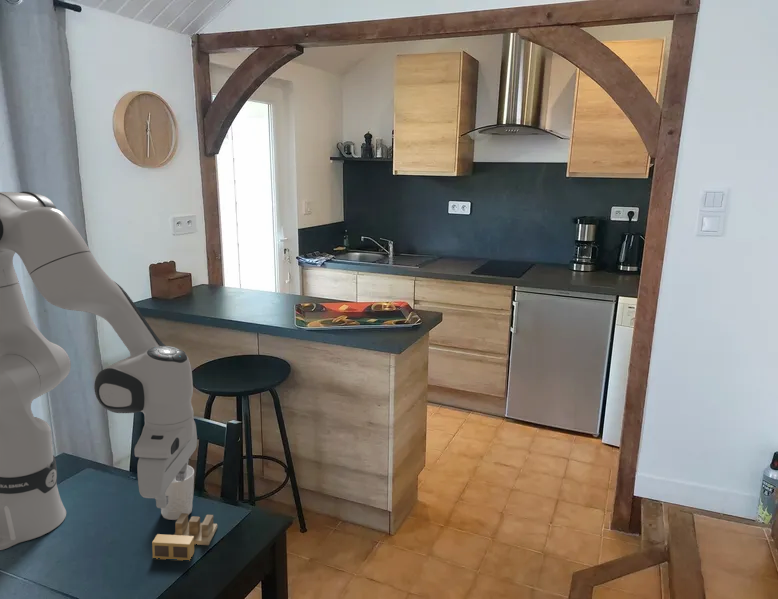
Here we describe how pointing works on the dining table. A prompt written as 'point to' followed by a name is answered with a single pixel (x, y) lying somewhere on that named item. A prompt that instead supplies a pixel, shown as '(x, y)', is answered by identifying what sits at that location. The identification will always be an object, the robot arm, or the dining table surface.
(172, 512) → the white cup
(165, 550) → the tan rectangular block
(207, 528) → the display stand
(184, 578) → the dining table surface
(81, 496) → the dining table surface
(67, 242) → the robot arm
